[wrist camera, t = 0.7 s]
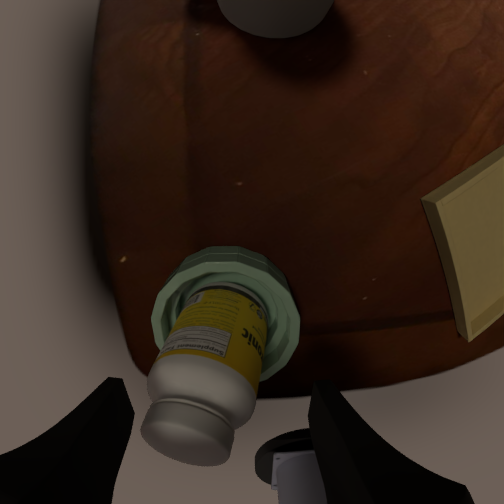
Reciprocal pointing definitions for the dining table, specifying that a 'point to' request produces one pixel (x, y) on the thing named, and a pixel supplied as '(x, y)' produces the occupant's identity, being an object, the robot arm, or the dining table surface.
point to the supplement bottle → (207, 375)
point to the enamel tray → (472, 241)
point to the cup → (275, 16)
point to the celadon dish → (241, 273)
